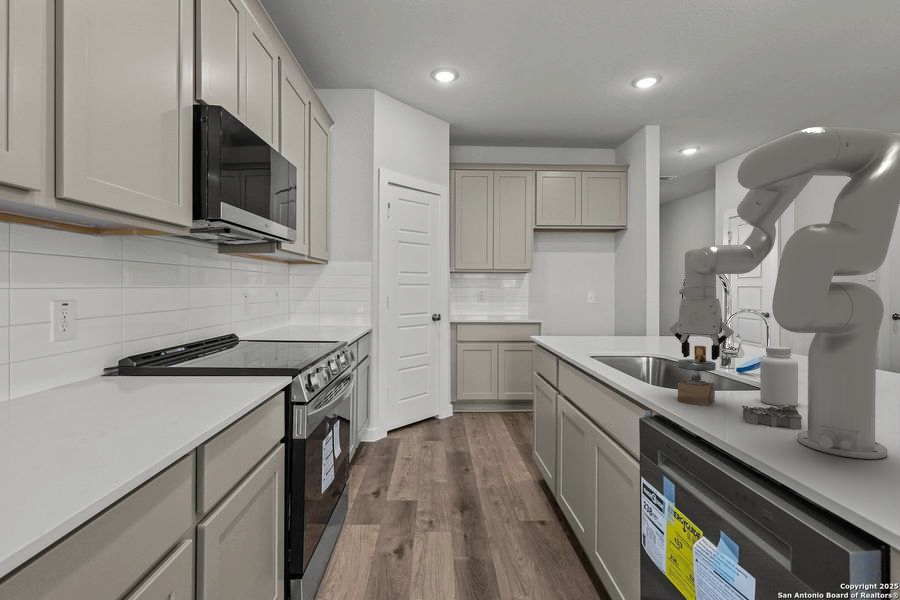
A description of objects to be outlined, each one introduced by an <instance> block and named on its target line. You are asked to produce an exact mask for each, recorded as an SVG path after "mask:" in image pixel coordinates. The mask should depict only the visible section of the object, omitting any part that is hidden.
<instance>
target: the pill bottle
mask: <svg viewBox="0 0 900 600" xmlns="http://www.w3.org/2000/svg"><path fill="white" fill-rule="evenodd" d="M765 354H766V355H765V356H763V357H762V358H761V359H760V362H759V363H760V365H759V366H760V367H759V368H760V369H759V370H760V373H759V375H760V376H759V377H760V378H759V379H760V385H759V386H760V390H759V391H760V392H759V393H760V401H761V402H762V403H764V404H768V405H770V404H771V405H770V406H775V407H778V406H779V405H795V407H797V405H798V404H799V403H798V402H799V364H798V361H797V360H796V359H795V358H793V357H791V356H792V348H791V347H789V346H780V345H779V346H778V345H771V346H770V345H769V346H766V347H765Z"/></svg>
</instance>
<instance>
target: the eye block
mask: <svg viewBox="0 0 900 600" xmlns="http://www.w3.org/2000/svg"><path fill="white" fill-rule="evenodd" d="M715 389H716V388H715V382H710V381H709V382H708V381H705V380H692V379H685V380H683V381H680V382H678V383H677V402H679V403H685V404H689V405H696V406H702V407H709V406H710V405H711V404H713V403H715V402H714V401H716V400H715V398H716V395H715V391H716V390H715Z"/></svg>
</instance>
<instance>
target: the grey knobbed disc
mask: <svg viewBox="0 0 900 600" xmlns="http://www.w3.org/2000/svg"><path fill="white" fill-rule="evenodd" d="M693 352H694V353H693V354H694V358H693V359H678V360H677V368H678V369H681V370H687V371H691V380H699V381H702V372H710V371H711V372H712V371H713V372H714V371H716V370H717V363H716V362H714V361H710V360H707V346H706V345H694V351H693Z"/></svg>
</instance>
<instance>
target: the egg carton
mask: <svg viewBox="0 0 900 600" xmlns="http://www.w3.org/2000/svg"><path fill="white" fill-rule="evenodd" d="M741 408H742V418H743V419H744V422H746V423H750V424H752V425H758V424H759V423H762V424H764V425H767V426H770V425H771V426H770V427H776V426H777V427H780V426H781V427H786V426H787V427H786V428H789V427H790V428H789V429H793V428H795V429H794V430H796V429H801V428H802V420H803V416H802V415H801V414H800V412H799V411H798V409H797V406H795V405H779V406H773V405H770V406H769V407H768V406H767V407H762V406H752V407H749V406H748V405H746V406H745V405H741ZM759 425H760V424H759ZM779 425H780V426H779Z"/></svg>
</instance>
